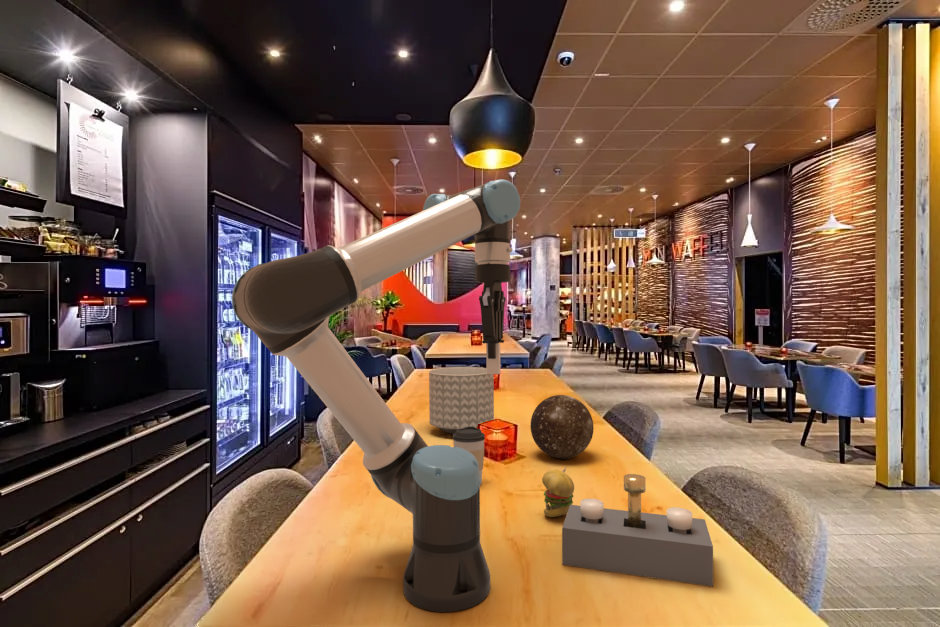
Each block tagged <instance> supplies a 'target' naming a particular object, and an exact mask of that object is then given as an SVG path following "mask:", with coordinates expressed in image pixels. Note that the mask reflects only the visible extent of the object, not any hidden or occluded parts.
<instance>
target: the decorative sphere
mask: <svg viewBox="0 0 940 627" xmlns="http://www.w3.org/2000/svg"><path fill="white" fill-rule="evenodd" d="M529 427H530V432H531V437H532V439H533V441H534V443H535V445H536V446H537V448H539V449H540V450H541V452H543V453H545V454H546V455H548V456H549V457H553V458H557V459H571V458H575V457H577V456H578V455H580V454H582V453H583V452H584V451H585V450H586V449H587V448H588V447H589V445H590V444H591V442H592V439H593V436H594V420H593V417H592V415H591V413H590V410H589V409H588V408H587V407H586V405H585V404H584V403H583V402H581V401H580V400H579V399H576V398H575V397H573V396H570V395H565V394H556V395H552V396H549V397H547V398H545V399H544V400H542V401H541V402H539V403H538V404H537V406H536V407H535V409H534V411H533V412H532V415H531V418H530V426H529Z"/></svg>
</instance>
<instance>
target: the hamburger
mask: <svg viewBox="0 0 940 627" xmlns="http://www.w3.org/2000/svg"><path fill="white" fill-rule="evenodd" d="M566 469H567V467H565V468H564V469H563V470H560V469H559V470H558V469H550V470H548V471H546V472H545V473H544V474H543V477H542V478H541V480H542V481H541V483H542V484H543V486H544V487H545V490H544V493H543V496H544V500H543V501H544V503H545V509H543V513H544V515H545V516H546V517H548V518H556V517H557V518H558V517H561V516H564V515H565V514H566V515H567V512H568V510H569V507H570V505H573V504H574V501H573V499H574V491H575V483H574V480H573V479H572V478H571V477H570V476H569V475H568V474H567V473H566Z"/></svg>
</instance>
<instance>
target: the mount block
mask: <svg viewBox="0 0 940 627" xmlns="http://www.w3.org/2000/svg"><path fill="white" fill-rule="evenodd" d="M603 510H604V516H603V518H601V519H598V523H590V522H586V518H584V517H582V516H581V505H577V504H572V505H570V507H569V510H568V512H567V513H566V516H565V519H564V520H563V521H564V522H563V525H562V527H561V533H562V534H561V536H562V537H561V554H562V556H561V558H562V559H561V560H562V562H561V563H562V565H563V566H569V567H576V568H577V567H578V568H582V569H590V570H597V571H605V572H611V573H617V574H625V575H629V576H630V575H632V576H637V577H644V578H651V579H659V580H665V581H671V582H672V581H673V582H680V583H685V584H694V585H699V586H700V585H701V586H705V587H706V586H707V587H713V586H714V545H713V543H712V542H713V541H712V539H711V536H710V532H709V528H708V526H707V523H706V519H704V518H697V517H692V528H691V529H688V530H686V534H683V533H674V532H673V528H672V527H670V526H668V525H667V514H659V513H651V512H650V513H649V512H642V511H641V528H632V527H628V510H622V509H616V508H615V509H613V508H605V507H603Z"/></svg>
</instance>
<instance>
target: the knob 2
mask: <svg viewBox="0 0 940 627" xmlns="http://www.w3.org/2000/svg"><path fill="white" fill-rule="evenodd" d="M666 515H667V525H668V526H670V527H672V528H673V532H674V533H683V534H686V530H688V529H691V528H692V518H693V512H692V511H691V510H689V509H686V508H683V507H675V506H674V507H670V508H667V509H666Z"/></svg>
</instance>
